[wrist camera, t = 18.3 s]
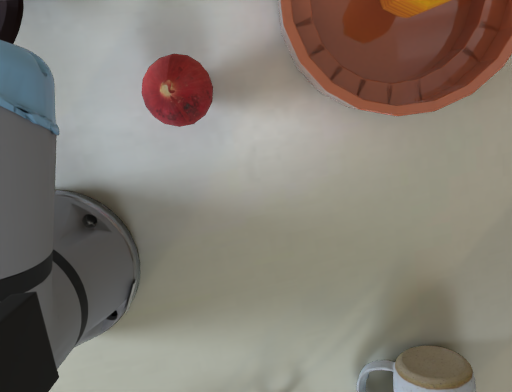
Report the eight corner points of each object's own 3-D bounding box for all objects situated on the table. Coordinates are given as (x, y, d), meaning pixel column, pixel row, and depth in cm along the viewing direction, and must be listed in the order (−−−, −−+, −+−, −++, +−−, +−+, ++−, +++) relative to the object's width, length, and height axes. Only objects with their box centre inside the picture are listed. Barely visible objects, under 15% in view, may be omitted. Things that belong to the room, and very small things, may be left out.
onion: (230, 97, 41) (221, 98, 33) (182, 135, 42) (161, 145, 34) (190, 44, 40) (170, 33, 33) (141, 85, 41) (111, 83, 34)
